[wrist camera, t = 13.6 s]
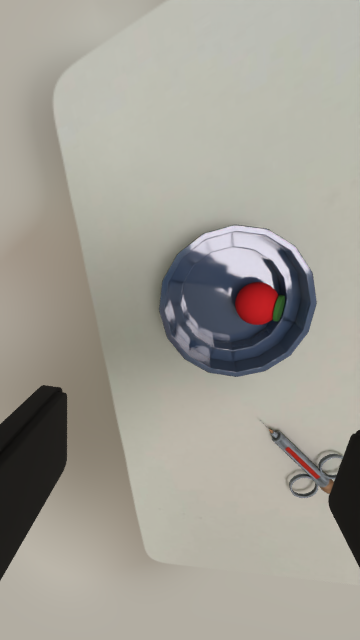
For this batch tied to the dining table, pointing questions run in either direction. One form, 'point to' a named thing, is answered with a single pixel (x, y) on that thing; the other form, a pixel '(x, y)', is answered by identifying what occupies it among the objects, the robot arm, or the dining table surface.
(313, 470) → the syringe
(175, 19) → the dining table surface
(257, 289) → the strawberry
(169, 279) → the bowl
